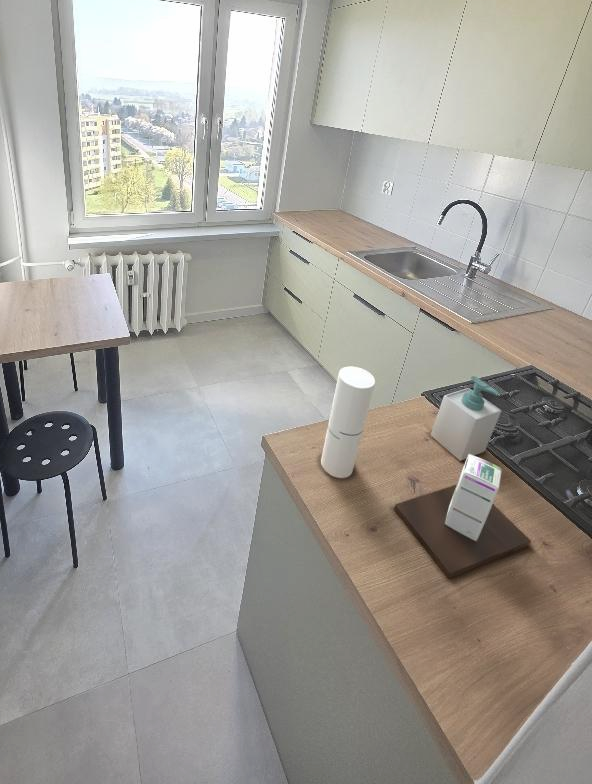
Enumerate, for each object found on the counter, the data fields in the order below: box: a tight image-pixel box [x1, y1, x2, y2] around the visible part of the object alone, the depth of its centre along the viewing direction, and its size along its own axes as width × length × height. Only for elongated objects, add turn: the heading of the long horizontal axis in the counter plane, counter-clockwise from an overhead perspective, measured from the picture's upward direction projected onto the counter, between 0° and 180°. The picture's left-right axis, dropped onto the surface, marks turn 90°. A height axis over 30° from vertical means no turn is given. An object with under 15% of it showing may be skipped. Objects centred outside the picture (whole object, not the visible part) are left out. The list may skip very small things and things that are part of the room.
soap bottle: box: [430, 375, 502, 462], centre depth 99 cm, size 9×9×19 cm
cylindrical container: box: [320, 365, 376, 479], centre depth 91 cm, size 7×7×25 cm
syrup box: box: [445, 454, 503, 541], centre depth 80 cm, size 6×6×14 cm
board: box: [393, 484, 532, 579], centre depth 83 cm, size 20×14×2 cm
